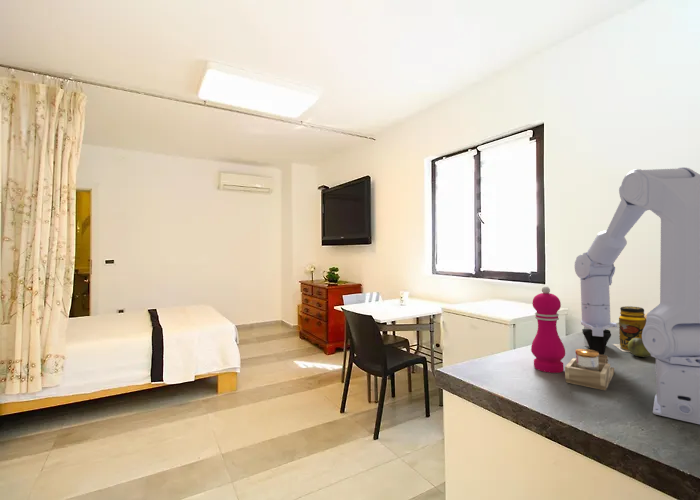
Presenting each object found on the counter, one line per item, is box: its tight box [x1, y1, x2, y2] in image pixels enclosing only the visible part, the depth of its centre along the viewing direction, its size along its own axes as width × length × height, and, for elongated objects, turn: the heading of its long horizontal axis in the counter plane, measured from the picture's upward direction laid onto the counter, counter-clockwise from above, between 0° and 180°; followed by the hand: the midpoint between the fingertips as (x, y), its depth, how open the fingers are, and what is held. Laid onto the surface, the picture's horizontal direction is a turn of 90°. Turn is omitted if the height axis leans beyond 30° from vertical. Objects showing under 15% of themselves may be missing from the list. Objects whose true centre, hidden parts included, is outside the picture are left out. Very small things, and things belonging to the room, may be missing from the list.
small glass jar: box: [575, 348, 599, 371], centre depth 75 cm, size 4×4×6 cm
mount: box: [564, 354, 616, 391], centre depth 77 cm, size 14×7×4 cm, turn 136°
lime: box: [628, 338, 651, 358], centre depth 91 cm, size 4×5×5 cm
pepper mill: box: [530, 286, 566, 374], centre depth 84 cm, size 7×7×20 cm
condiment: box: [612, 305, 646, 353], centre depth 98 cm, size 7×8×12 cm
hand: (597, 359), depth 84 cm, fingers closed
